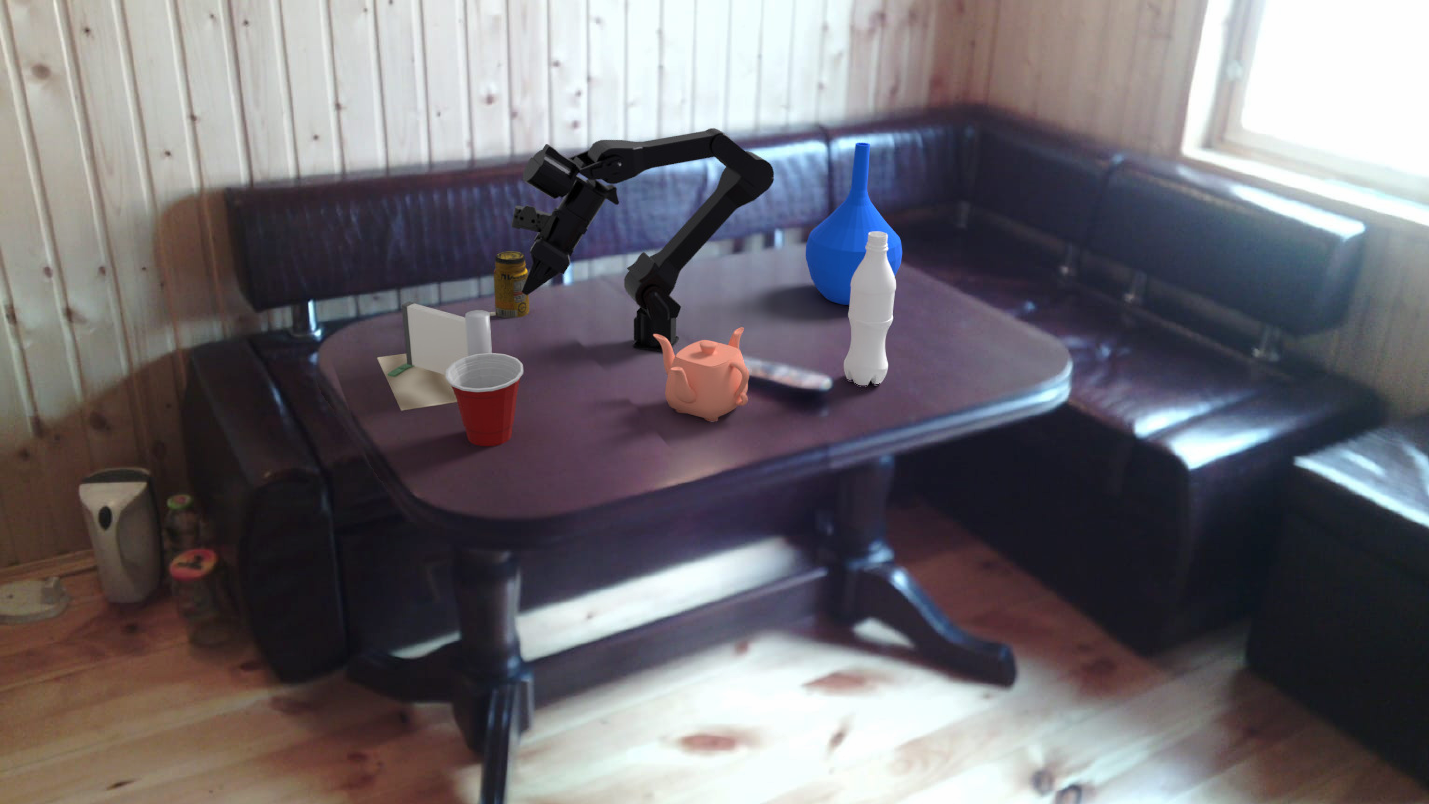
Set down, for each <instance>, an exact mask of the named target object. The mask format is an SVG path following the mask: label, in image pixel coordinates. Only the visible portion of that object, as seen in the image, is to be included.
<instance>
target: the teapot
mask: <svg viewBox="0 0 1429 804" xmlns="http://www.w3.org/2000/svg"><path fill="white" fill-rule="evenodd" d="M744 330H745V328H744V327H742V326H741V327H739V328H737V329H735V330H734V331H733V332H732V334H731V336H730V339H729V341H728V344H725V343H720V342H717V341H713V340H708V339H701V340H698V341H695V342H693V343H691V344H689V345H686V346H685V347H683V348H682V349H680V350H679V351H678V352H677V353H676V354H675V352H674V350H673V347H672V346H671V344H670V342H669V341H668V339H667V338H665V337H664V336H662V335H659V334H653V336H654V337H655V338H656V339H657V340H658V341H659V342H660V344H661V346H662V350H663V352H662V358H663V367H664V371H665V372H666V375H667V379H666V383H665V389H664V390H665V393H664V394H665V395H664V396H665V399H666V401H667V403H668V405H669V407H670V408H671V409H674V410H675V412H677V413H679V414H688V415H691V416H692V415H693V416H695V417H700V418H703V419H704V420H705V421H706V420H707V421H706V422H708V421H716V420H718V418H719V417H722V416H724V415H726V414H728V413H729V412H731V411H733V410H735V409H736V408H737V407H738V406H739V407H742V406H746V405H747V403H748V401H749V399H748V395H747V392H748V388H749V379H750V371H749V368H748V367H747V366H746V364H745V361H744V357H743V354H742V352H741V349H740V340H741V337H742V335H743V333H744ZM718 421H719V420H718ZM716 422H717V421H716Z"/></svg>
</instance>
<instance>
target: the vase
mask: <svg viewBox="0 0 1429 804" xmlns="http://www.w3.org/2000/svg"><path fill="white" fill-rule="evenodd" d="M870 149H871V144H870V143H868V142H857V143H855V147H854V156H853V165H852V173H851V186H850V190H849V192H848V194H847V196H846V198H845V200H844V201H843V202H842V203H841V204H840V205H839V206H838V207H837V208H836V209H834V211H833V212H832V213H830V215H829V216H827V218H825V219H824V220H823V221H821V223H819V224H818V225H817V226H816V227H814V228H813V229H812V230H811V232H810V233H809V234H808V238H807V241H806V244H805V261H806V264H807V268H808V272H809V276H810V278H811V281H812V283H813V284H814V286H815V288H816V289H817V290H818V291H819V293H820V294H821V295H822V296H823V297H824V298H825V299H826V300H828V301H830V302H833V303H836V304H839V305H845V306H850V294H851V280H852V277H853V275H854V273H855V271H856V269H857V268H858V266H859V265H860V263H861V262H862V260H863V259H864V257H865V254H866V249H865V246H866V245H867V242H868V235H869V233H870V232H873V231H879V232H884V233H886V234H887V236H888V238H887V244H888V246H887V247H888V251H886V254H887V259H888V262H889V264H890V267H891V269H892V271H893V274H894V276H895V277H896V275H897V273H898V271H899V268H900V267H901V264H902V257H903V248H902V247H903V246H902V241H901V238H900V236H899V235H898V234H897V233H896V231H894V230H893V228H892V227H891V226H890V225H889V223H887V221H886V220H885V219H884V217H883V216H882V215H881V214H880V212H879V211H878V210H877V209H876V206H875V205H874V204H873V203H872V201H871V200H870V196H869V193H868V181H869V180H868V179H869V170H870V169H869V166H870V153H871V152H870Z"/></svg>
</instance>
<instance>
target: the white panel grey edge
mask: <svg viewBox="0 0 1429 804" xmlns="http://www.w3.org/2000/svg"><path fill="white" fill-rule="evenodd" d="M489 312H490V311H487V310H482V309H475V310H470V311H468V312H466V313H465V315H464V316H461V315H458V314H454V313H451V312H447V311H443V310H439V309H436V308H432V307H430V306H425V305H423V304H419V303H415V302H414V301H411V300H410V301H407V302H405V303H402V304H401V314H402V315H401V316H402V324H403V335H404V345H405V347H404V348H405V354H406V357H407V364H408V365H411V366H412V365H414V366H418V367H421V368H424V369H427V370H431V371H434V372H437V373H440V374H444V375H446V370H447V369H448V368H449V367H450V366H451V364H452V363H454V362H456V361H458V360H460V359H462V358H464V357H468V356H472V355H476V354H485V353H493V352H492V350H493V349H492V335H491V334H492V333H491V316H490V314H489Z"/></svg>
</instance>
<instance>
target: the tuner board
mask: <svg viewBox="0 0 1429 804" xmlns="http://www.w3.org/2000/svg"><path fill="white" fill-rule="evenodd" d="M376 359H377V362H378V364H379V365H380V367H381V370H382V372H383V374H384V376H385V378H386V380H387V383H388V384H389V387H390V388H391V389H390V390H391V391H392V394H393V395H394V398H395V400H396V403H397V405H398V407H399V409H400V411H401V412H403V411H408V410H415V409H416V410H417V409H422V408H428V407H434V406H440V405H441V406H442V405H445V404H453V403H458V402H457V399H456V395H455V394H454V391H453V389H452V386H451V384H450V383H449V382H448V381H447V380H446V375H444V374H440V373H437V372H434V371H431V370H427V369H424V368H421V367H418V366H414V365H412V366H411V365H408V364H407V357H406V353H399V354H394V355H385V356H378V357H377V358H376Z"/></svg>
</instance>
